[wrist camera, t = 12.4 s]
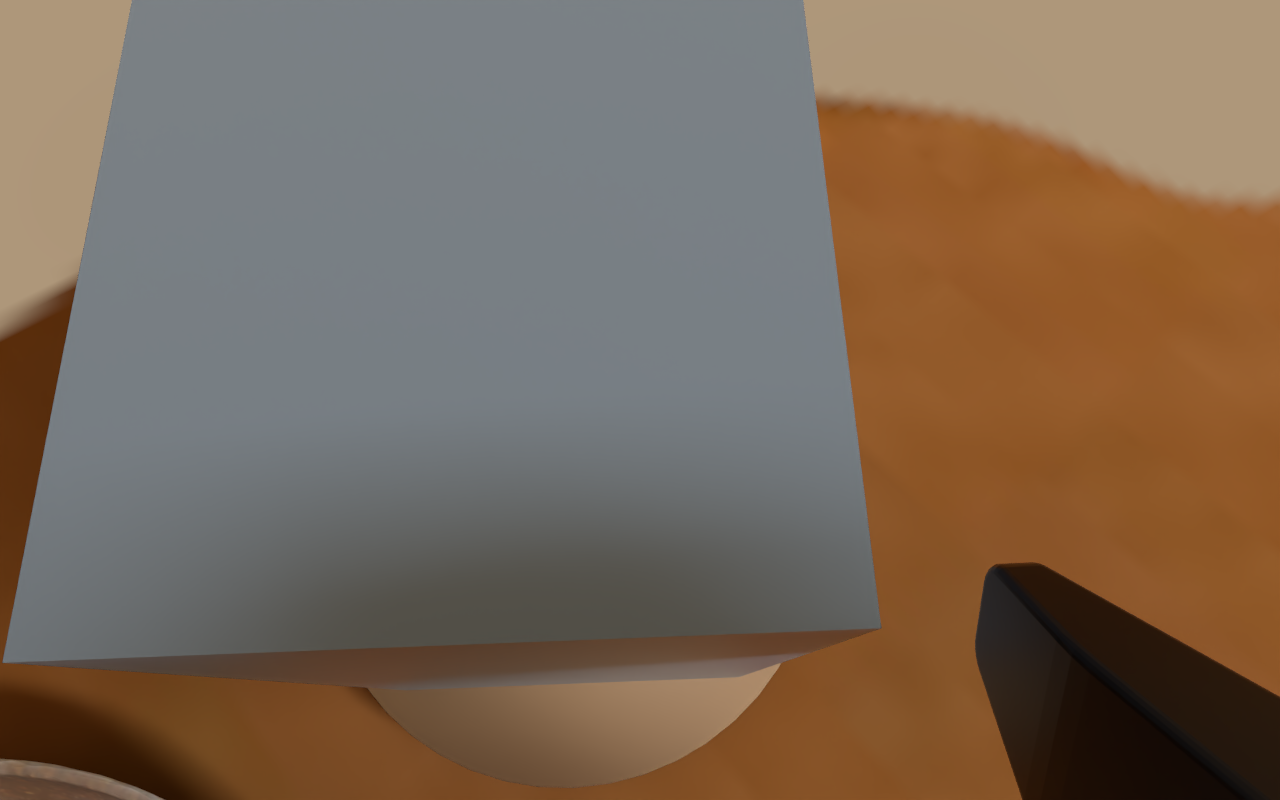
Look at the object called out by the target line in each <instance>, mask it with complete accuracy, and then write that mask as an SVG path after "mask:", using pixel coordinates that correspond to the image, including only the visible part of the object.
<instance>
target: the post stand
mask: <svg viewBox="0 0 1280 800" xmlns="http://www.w3.org/2000/svg"><path fill="white" fill-rule="evenodd" d="M780 664H781V663H779V664H776V665H773V666H770V667H767V668H764V669H761V670H758V671H756V672H753V673H750V674H747V675H744V676H741V677H730V678H704V679H679V680H653V681H627V682H602V683H576V684H551V685H525V686H500V687H474V688H448V689H423V690H394V689H380V688H367V689H368V690H369V691H370V692H371V694H372V695H373V696H374V697H375V699H376V700H377V701H378V702H379V704H380V705H381V706H382V707H383V709H384V710H385V711H386V712H387V713H388V714H389V715H390V716H391V717H392V718H393V719H394V720H395V721H396V722H397V723H399V724H400V725H401V726H402V727H403V728H404V729H405V730H406V731H407V732H408V733H409V734H410V735H412V736H413V737H414V738H416V739H417V740H419V741H420V742H422V743H423V744H425V745H426V746H427V747H429V748H430V749H432V750H433V751H435V752H436V753H438V754H439V755H441V756H443V757H445V758H447V759H449V760H451V761H453V762H455V763H457V764H459V765H461V766H463V767H465V768H467V769H469V770H472V771H475V772H478V773H481V774H484V775H487V776H490V777H493V778H496V779H499V780H502V781H507V782H513V783H519V784H524V785H530V786H536V787H561V788H577V787H585V786H594V785H602V784H610V783H614V782H618V781H621V780H625V779H629V778H633V777H637V776H640V775H644V774H646V773H649V772H651V771H653V770H656V769H658V768H661V767H663V766H665V765H668V764H670V763H673V762H675V761H677V760H679V759H680V758H682V757H684V756H685V755H687V754H689V753H690V752H692V751H694V750H696V749H697V748H699V747H701V746H702V745H704V744H706V743H707V742H708V741H710V740H711V739H712V738H713V737H715V736H716V735H717V734H718V733H720V732H721V731H722V730H723V729H725V728H726V727H727V726H728V725H730V724H731V723H732V722H734V721H735V720H736V719H737V718H738V716H739V715H740V714H741V713H742V712H743V711H744V710H745V709H746V708H747V707H748V706H749V705H750V704H751V703H752V702H753V701H754V700H755V699H756V698H757V697H758V695H759V694H760V693H761V691H762V690H763V689H764V687H765V686H766V684H767V683H768V682H769V680H770V679H771V677H772V676H773V675H774V673H775V672H776V670H777V669H778V668H779V666H780Z"/></svg>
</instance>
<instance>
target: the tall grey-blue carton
mask: <svg viewBox="0 0 1280 800" xmlns="http://www.w3.org/2000/svg"><path fill="white" fill-rule="evenodd" d="M878 629H881V623H880V615H879V607H878V599H877V590H876V582H875V574H874V566H873V558H872V550H871V542H870V534H869V526H868V518H867V510H866V502H865V494H864V486H863V478H862V470H861V462H860V454H859V446H858V438H857V430H856V422H855V414H854V406H853V398H852V390H851V381H850V373H849V365H848V357H847V349H846V341H845V333H844V325H843V317H842V309H841V301H840V293H839V285H838V277H837V269H836V261H835V253H834V245H833V237H832V229H831V221H830V213H829V205H828V197H827V189H826V180H825V172H824V164H823V156H822V148H821V140H820V132H819V124H818V116H817V108H816V100H815V92H814V84H813V77H812V68H811V60H810V52H809V44H808V36H807V28H806V20H805V12H804V4H803V0H132V4H131V9H130V14H129V19H128V24H127V29H126V34H125V39H124V45H123V50H122V55H121V61H120V65H119V70H118V75H117V80H116V85H115V91H114V96H113V101H112V106H111V111H110V116H109V121H108V126H107V131H106V136H105V142H104V147H103V152H102V157H101V162H100V167H99V172H98V177H97V182H96V187H95V193H94V198H93V203H92V208H91V213H90V218H89V223H88V228H87V233H86V239H85V244H84V249H83V254H82V259H81V264H80V269H79V274H78V279H77V284H76V290H75V295H74V300H73V305H72V310H71V315H70V320H69V325H68V330H67V336H66V341H65V346H64V351H63V356H62V361H61V366H60V371H59V376H58V382H57V387H56V392H55V397H54V402H53V407H52V412H51V417H50V422H49V427H48V433H47V438H46V443H45V448H44V453H43V458H42V463H41V468H40V473H39V479H38V484H37V489H36V494H35V499H34V504H33V509H32V514H31V519H30V525H29V530H28V535H27V540H26V545H25V550H24V555H23V560H22V565H21V571H20V576H19V581H18V586H17V591H16V596H15V601H14V606H13V611H12V616H11V622H10V627H9V632H8V637H7V642H6V647H5V652H4V657H3V662H2V663H14V664H29V665H43V666H58V667H72V668H87V669H102V670H116V671H131V672H146V673H160V674H175V675H190V676H204V677H219V678H233V679H248V680H263V681H277V682H292V683H307V684H321V685H336V686H351V687H365V688H380V689H394V690H423V689H448V688H474V687H500V686H525V685H551V684H576V683H602V682H627V681H653V680H679V679H704V678H730V677H741V676H744V675H747V674H750V673H753V672H756V671H758V670H761V669H764V668H767V667H770V666H773V665H776V664H779V663H782V662H785V661H788V660H791V659H793V658H796V657H799V656H802V655H805V654H808V653H811V652H814V651H817V650H820V649H823V648H825V647H828V646H831V645H834V644H837V643H840V642H843V641H846V640H849V639H852V638H855V637H857V636H860V635H863V634H866V633H869V632H872V631H875V630H878Z"/></svg>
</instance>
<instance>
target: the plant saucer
mask: <svg viewBox="0 0 1280 800" xmlns="http://www.w3.org/2000/svg"><path fill="white" fill-rule="evenodd" d="M0 800H165V799H162V798H160V797H158V796H156V795H154V794H151V793H149V792H147V791H144V790H142V789H140V788H137V787H135V786H132V785H129V784H126V783H123V782H120V781H117V780H115V779H112V778H109V777H106V776H103V775H99V774H95V773H90V772H86V771H82V770H77V769H73V768H68V767H64V766H60V765H55V764H48V763H41V762H34V761H25V760H12V759H0Z"/></svg>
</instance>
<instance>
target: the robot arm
mask: <svg viewBox="0 0 1280 800" xmlns="http://www.w3.org/2000/svg"><path fill="white" fill-rule="evenodd" d="M975 650H976V658H977V663H978V667H979V670H980V673H981V676H982V679H983V682H984V685H985V688H986V691H987V694H988V697H989V700H990V703H991V706H992V709H993V713H994V716H995V719H996V722H997V725H998V728H999V731H1000V734H1001V737H1002V740H1003V743H1004V746H1005V749H1006V752H1007V755H1008V758H1009V761H1010V764H1011V767H1012V770H1013V773H1014V776H1015V779H1016V782H1017V785H1018V788H1019V791H1020V794H1021V797H1022V800H1280V697H1279V696H1277V695H1276V694H1274V693H1272V692H1270V691H1268V690H1267V689H1265V688H1263V687H1261V686H1259V685H1258V684H1256V683H1254V682H1252V681H1250V680H1249V679H1247V678H1245V677H1243V676H1241V675H1240V674H1238V673H1236V672H1234V671H1233V670H1231V669H1229V668H1227V667H1225V666H1224V665H1222V664H1220V663H1218V662H1216V661H1215V660H1213V659H1211V658H1209V657H1207V656H1206V655H1204V654H1202V653H1200V652H1198V651H1197V650H1195V649H1193V648H1191V647H1190V646H1188V645H1186V644H1184V643H1182V642H1181V641H1179V640H1177V639H1175V638H1173V637H1172V636H1170V635H1168V634H1166V633H1164V632H1163V631H1161V630H1159V629H1157V628H1155V627H1154V626H1152V625H1150V624H1148V623H1146V622H1145V621H1143V620H1141V619H1139V618H1138V617H1136V616H1134V615H1132V614H1130V613H1129V612H1127V611H1125V610H1123V609H1121V608H1120V607H1118V606H1116V605H1114V604H1112V603H1111V602H1109V601H1107V600H1105V599H1103V598H1102V597H1100V596H1098V595H1096V594H1094V593H1093V592H1091V591H1089V590H1087V589H1086V588H1084V587H1082V586H1080V585H1078V584H1077V583H1075V582H1073V581H1071V580H1069V579H1068V578H1066V577H1064V576H1062V575H1060V574H1059V573H1057V572H1055V571H1053V570H1051V569H1050V568H1048V567H1046V566H1044V565H1042V564H1039V563H1033V562H1032V563H1009V564H996V565H994V566H993V567H991V568H990V569H989V570H988V572H987V574H986V577H985V581H984V587H983V593H982V599H981V606H980V612H979V619H978V625H977V632H976V639H975Z"/></svg>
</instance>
